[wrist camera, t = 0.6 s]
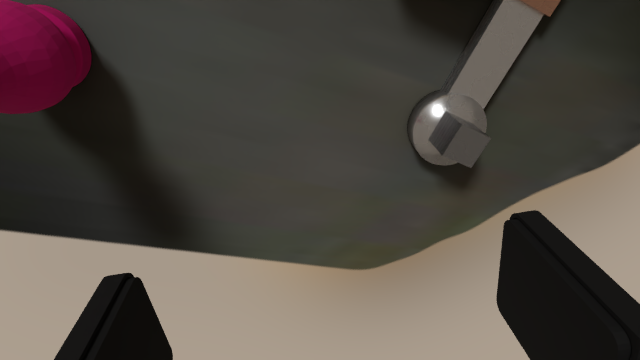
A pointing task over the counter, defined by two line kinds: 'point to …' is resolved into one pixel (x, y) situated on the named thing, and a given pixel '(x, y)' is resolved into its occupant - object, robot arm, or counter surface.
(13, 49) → the pepper mill
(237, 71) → the counter surface
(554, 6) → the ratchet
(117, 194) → the counter surface
